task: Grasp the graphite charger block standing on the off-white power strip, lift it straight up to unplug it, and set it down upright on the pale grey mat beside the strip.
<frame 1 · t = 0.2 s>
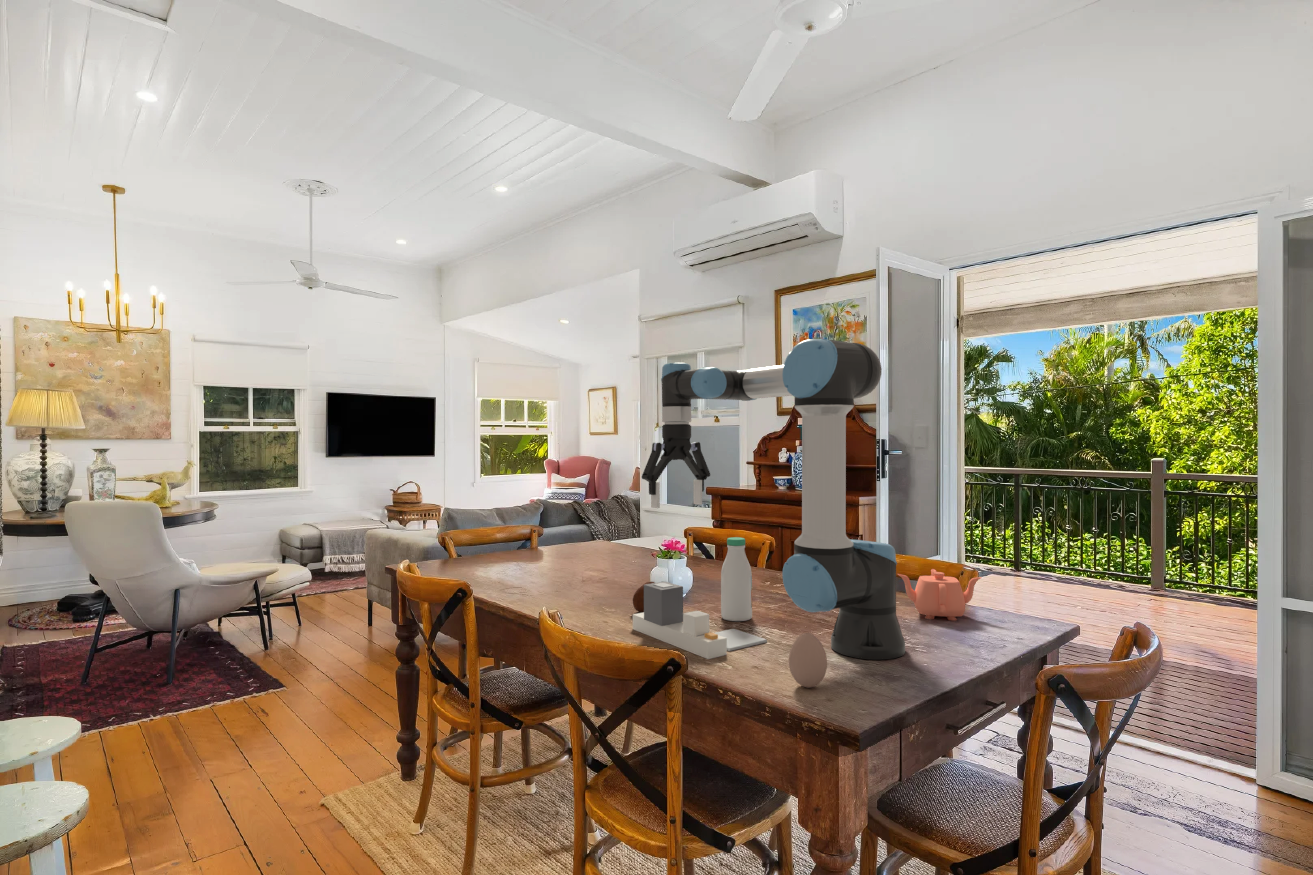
hand: (677, 506, 183), 28 cm above the table, fingers open, 13 cm apart
teapot: (938, 615, 180), on the table
mat: (731, 640, 158), on the table
power strip: (676, 641, 158), on the table
charger: (663, 620, 162), point 4 cm above the table, touching power strip
potato: (652, 612, 185), on the table
egg: (808, 687, 129), on the table
white plug: (696, 632, 152), point 4 cm above the table, touching power strip
milk bottle: (736, 618, 178), on the table
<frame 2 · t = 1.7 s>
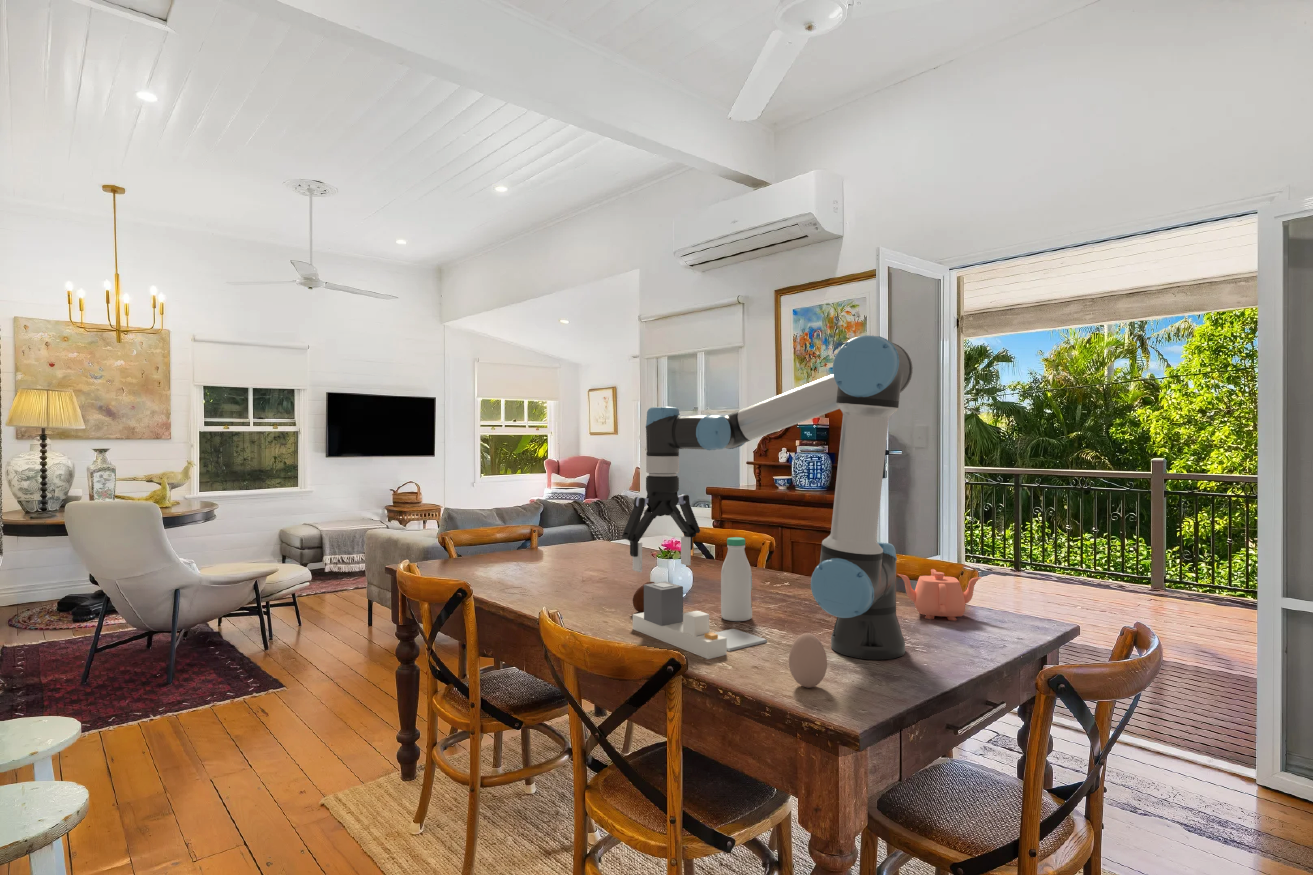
hand: (662, 567, 162), 16 cm above the table, fingers open, 13 cm apart
nothing on the table moved.
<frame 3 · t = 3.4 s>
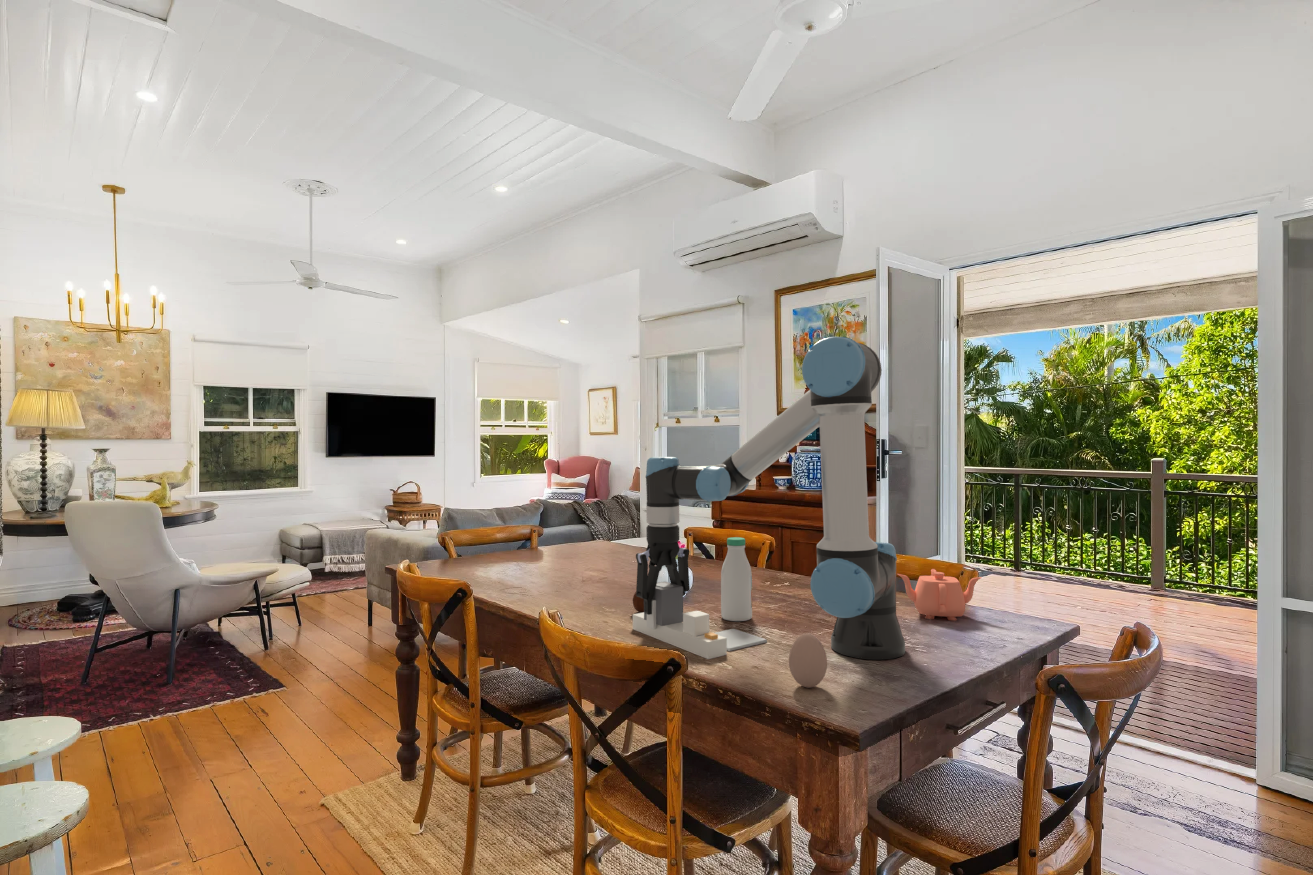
hand: (663, 625, 162), 2 cm above the table, fingers closed on charger, 6 cm apart
charger: (663, 620, 162), point 4 cm above the table, touching gripper, power strip
everything else where it was.
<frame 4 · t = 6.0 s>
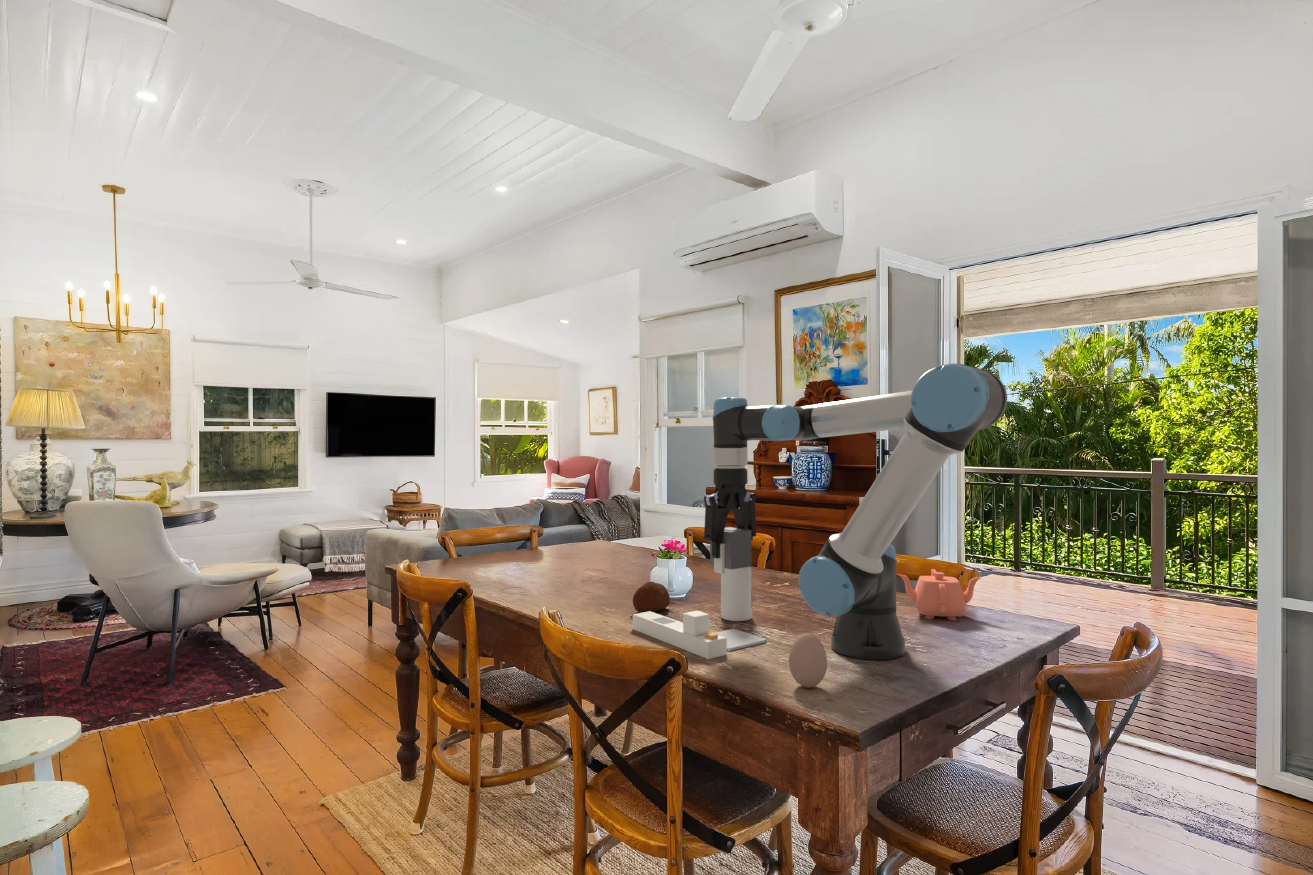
hand: (730, 570, 158), 16 cm above the table, fingers closed on charger, 6 cm apart
charger: (730, 565, 158), point 17 cm above the table, touching gripper
everything else where it was.
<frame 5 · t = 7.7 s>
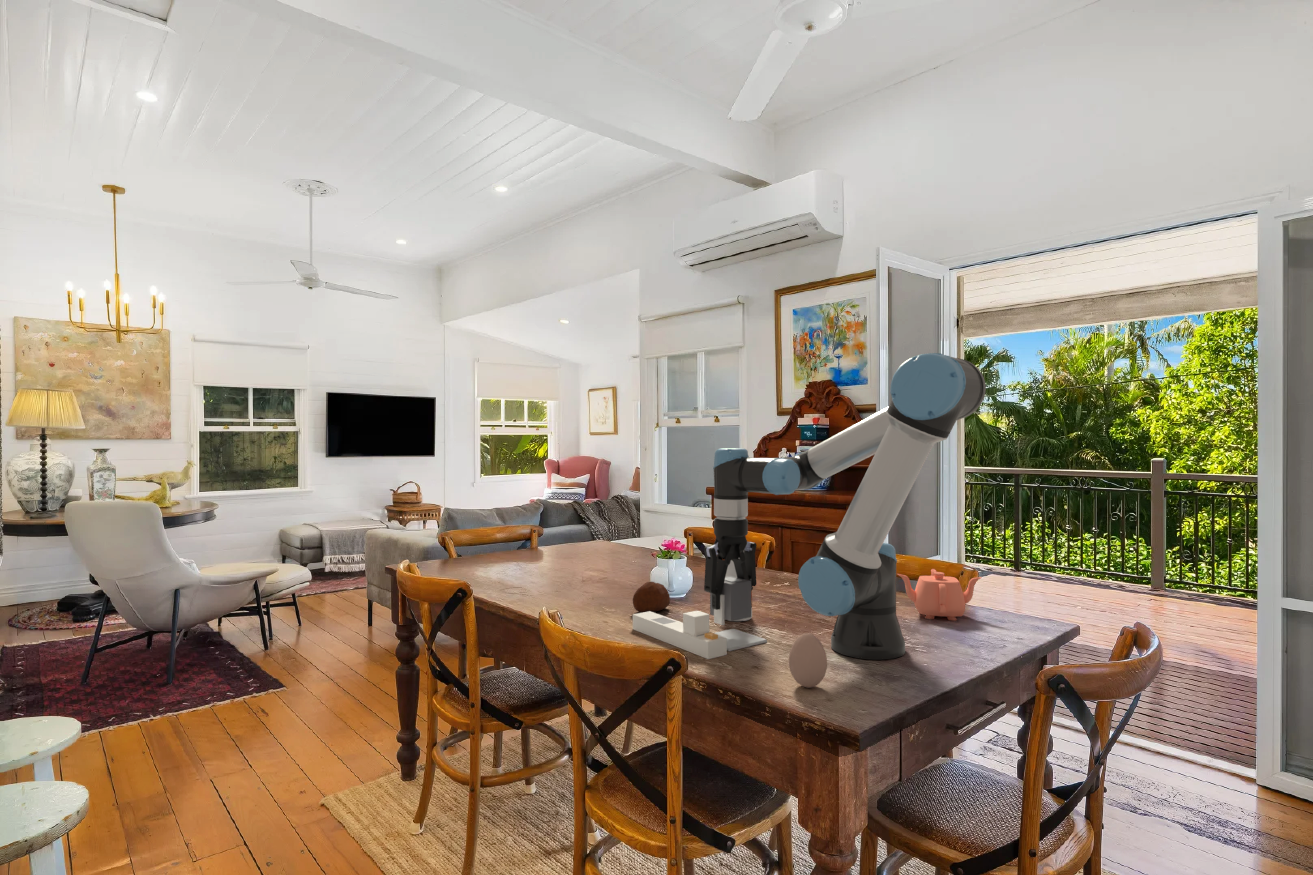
hand: (730, 620, 158), 4 cm above the table, fingers closed on charger, 6 cm apart
charger: (730, 615, 158), point 6 cm above the table, touching gripper
everything else where it was.
when the fingers open (2 cm above the table, at t = 8.7 s): charger drops 2 cm, resting on mat.
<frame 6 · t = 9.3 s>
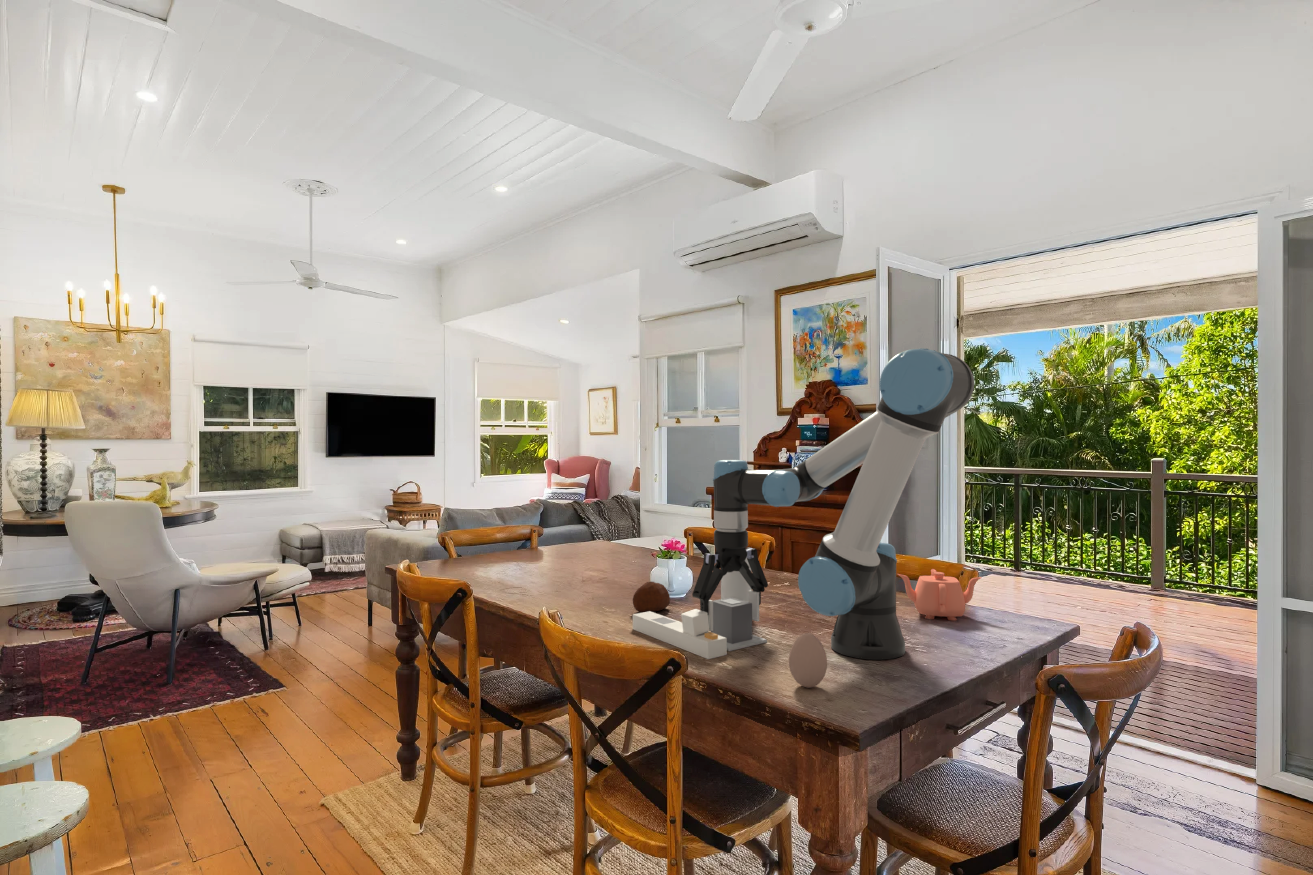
hand: (731, 624, 158), 4 cm above the table, fingers open, 13 cm apart
charger: (731, 637, 158), point 1 cm above the table, touching mat
white plug: (696, 631, 152), point 4 cm above the table, tilted 7°, touching gripper, power strip
everything else where it was.
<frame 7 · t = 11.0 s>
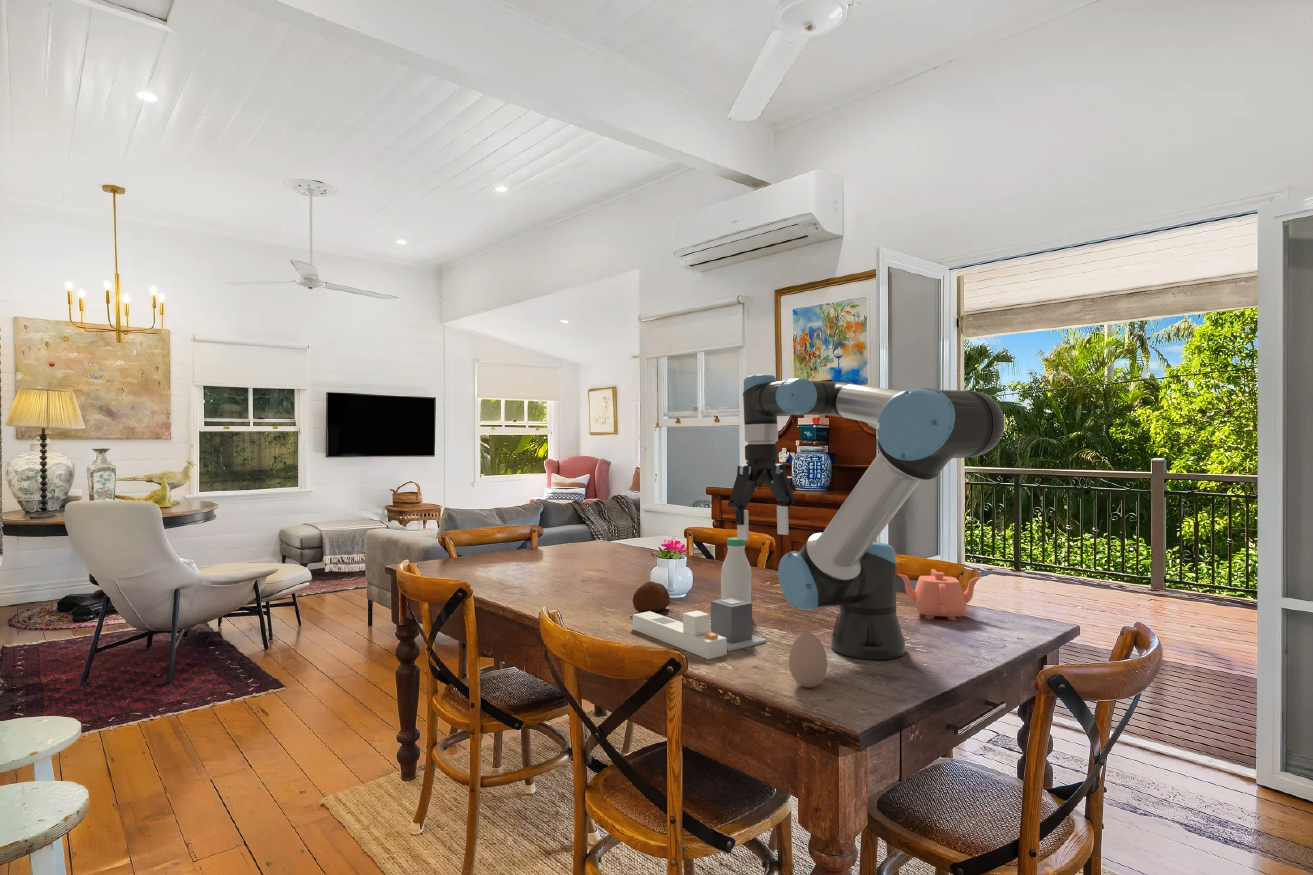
hand: (763, 537, 161), 23 cm above the table, fingers open, 13 cm apart
white plug: (696, 632, 152), point 4 cm above the table, touching power strip
everything else where it was.
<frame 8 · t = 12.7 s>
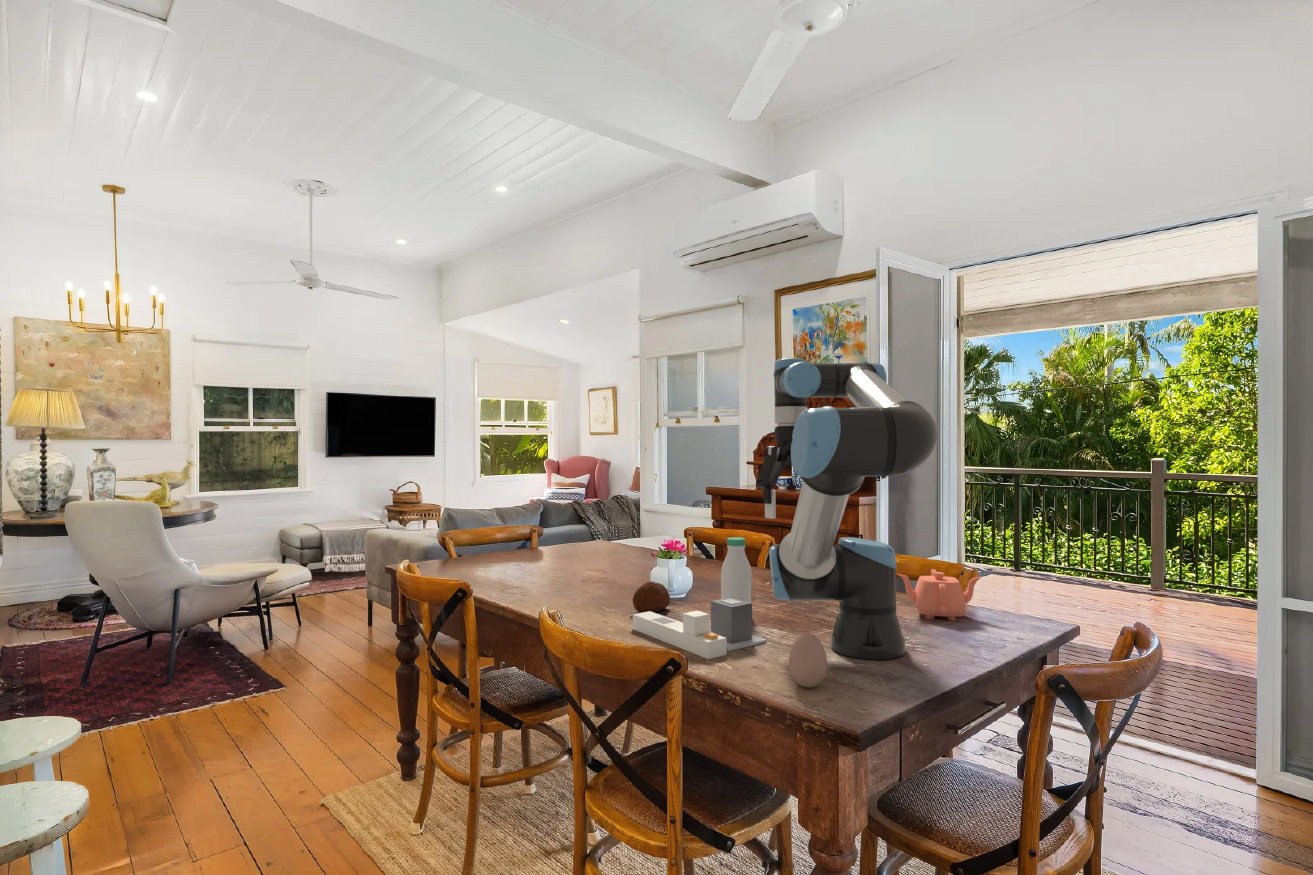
hand: (791, 516, 166), 27 cm above the table, fingers open, 13 cm apart
nothing on the table moved.
at the end: charger inside the target area on the mat (0.0 cm from its centre), point 0.6 cm above the mat's base; charger tilted 0°; charger touching mat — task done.
